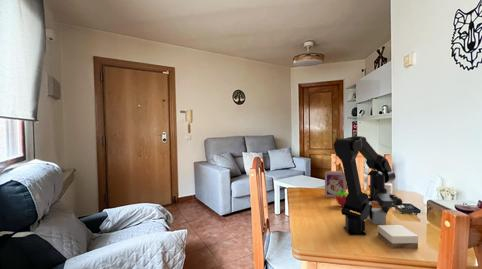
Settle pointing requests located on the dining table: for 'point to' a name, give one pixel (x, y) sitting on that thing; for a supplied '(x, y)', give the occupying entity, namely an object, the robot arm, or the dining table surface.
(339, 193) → the strawberry
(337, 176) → the pink snowman box
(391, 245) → the tower bottom
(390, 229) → the tower top
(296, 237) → the dining table surface
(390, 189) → the ink cartridge box
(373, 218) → the slate cube
